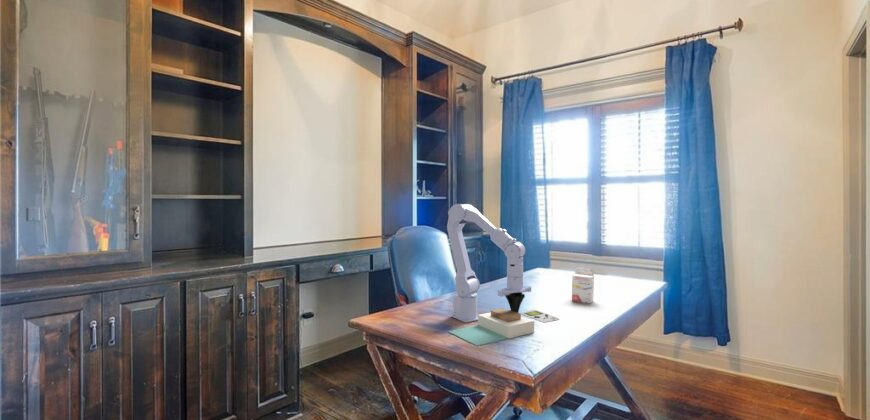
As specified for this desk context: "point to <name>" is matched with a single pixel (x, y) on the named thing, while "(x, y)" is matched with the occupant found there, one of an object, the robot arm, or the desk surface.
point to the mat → (477, 335)
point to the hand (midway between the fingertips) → (514, 313)
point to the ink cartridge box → (583, 285)
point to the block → (505, 315)
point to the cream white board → (506, 325)
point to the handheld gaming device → (539, 316)
